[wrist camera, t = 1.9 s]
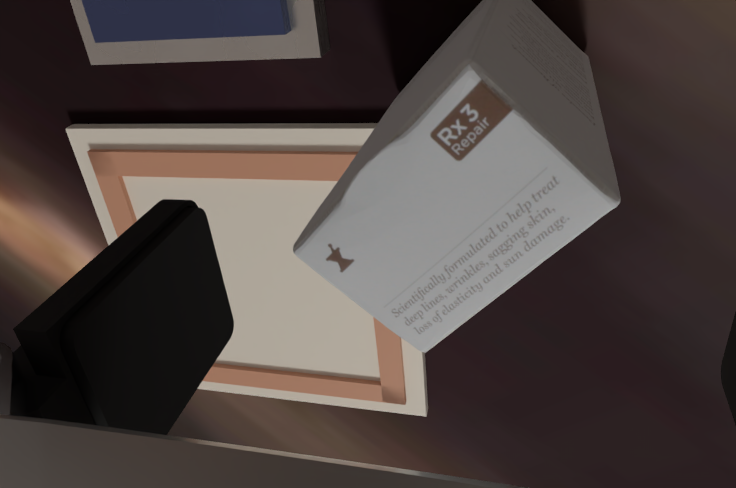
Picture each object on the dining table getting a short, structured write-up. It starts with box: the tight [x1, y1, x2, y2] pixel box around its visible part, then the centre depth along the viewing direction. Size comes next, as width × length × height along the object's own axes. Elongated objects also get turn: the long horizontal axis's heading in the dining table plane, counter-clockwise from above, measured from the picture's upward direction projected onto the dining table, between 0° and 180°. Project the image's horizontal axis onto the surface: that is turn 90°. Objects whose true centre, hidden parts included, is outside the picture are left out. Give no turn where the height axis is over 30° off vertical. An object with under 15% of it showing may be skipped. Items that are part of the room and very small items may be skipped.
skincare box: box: [293, 0, 620, 352], centre depth 17 cm, size 6×4×12 cm
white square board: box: [66, 123, 428, 416], centre depth 30 cm, size 16×16×1 cm
